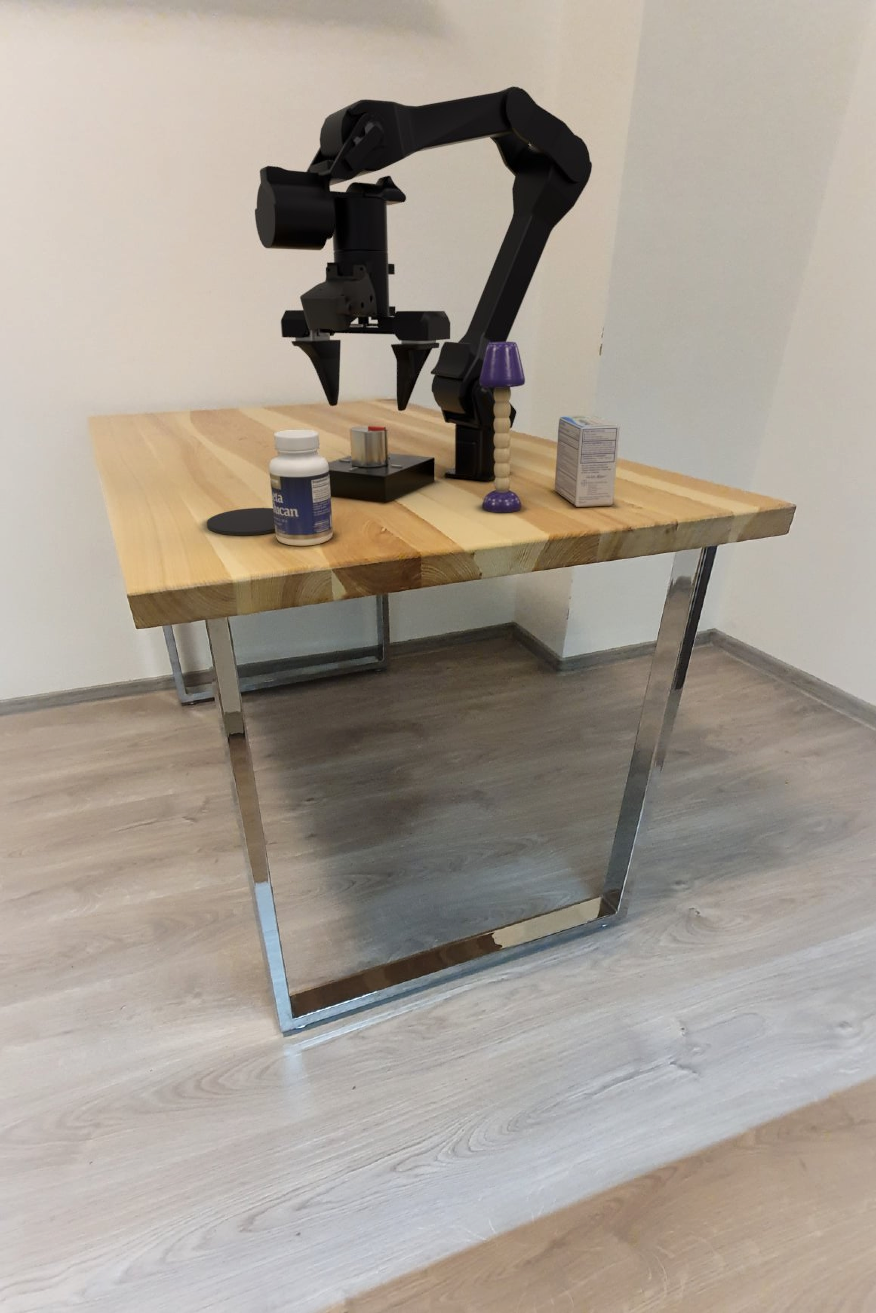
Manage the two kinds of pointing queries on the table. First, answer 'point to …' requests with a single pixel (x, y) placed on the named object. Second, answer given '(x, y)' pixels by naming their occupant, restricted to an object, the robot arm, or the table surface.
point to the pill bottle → (300, 489)
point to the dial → (369, 446)
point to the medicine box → (586, 460)
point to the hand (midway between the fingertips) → (366, 408)
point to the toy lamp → (502, 418)
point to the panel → (381, 478)
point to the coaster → (243, 522)
